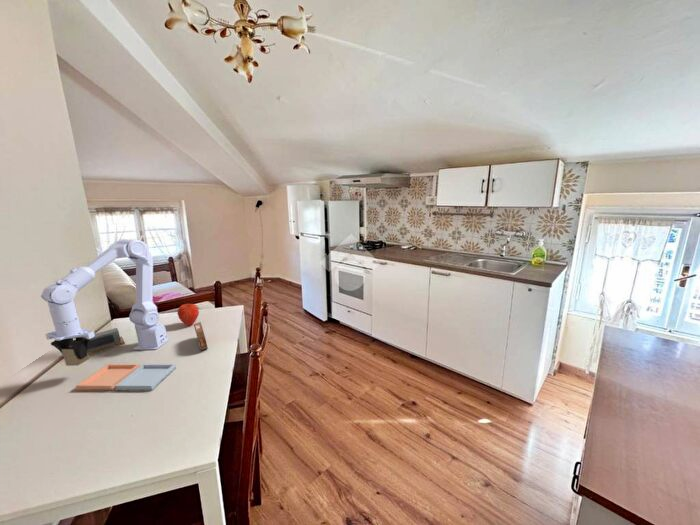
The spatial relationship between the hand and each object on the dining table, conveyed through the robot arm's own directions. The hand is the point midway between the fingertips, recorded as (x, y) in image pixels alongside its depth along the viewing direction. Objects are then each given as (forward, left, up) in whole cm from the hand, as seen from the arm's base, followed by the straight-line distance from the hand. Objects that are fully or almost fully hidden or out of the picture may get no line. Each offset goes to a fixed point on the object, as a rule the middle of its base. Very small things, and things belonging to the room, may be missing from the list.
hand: (76, 357), depth 92 cm
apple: (-14, -39, -8) cm, 42 cm away
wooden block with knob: (0, 0, -2) cm, 2 cm away
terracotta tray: (-11, +1, -8) cm, 13 cm away
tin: (-30, -21, -8) cm, 37 cm away
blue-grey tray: (-24, +1, -8) cm, 25 cm away
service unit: (+11, -19, -8) cm, 23 cm away
